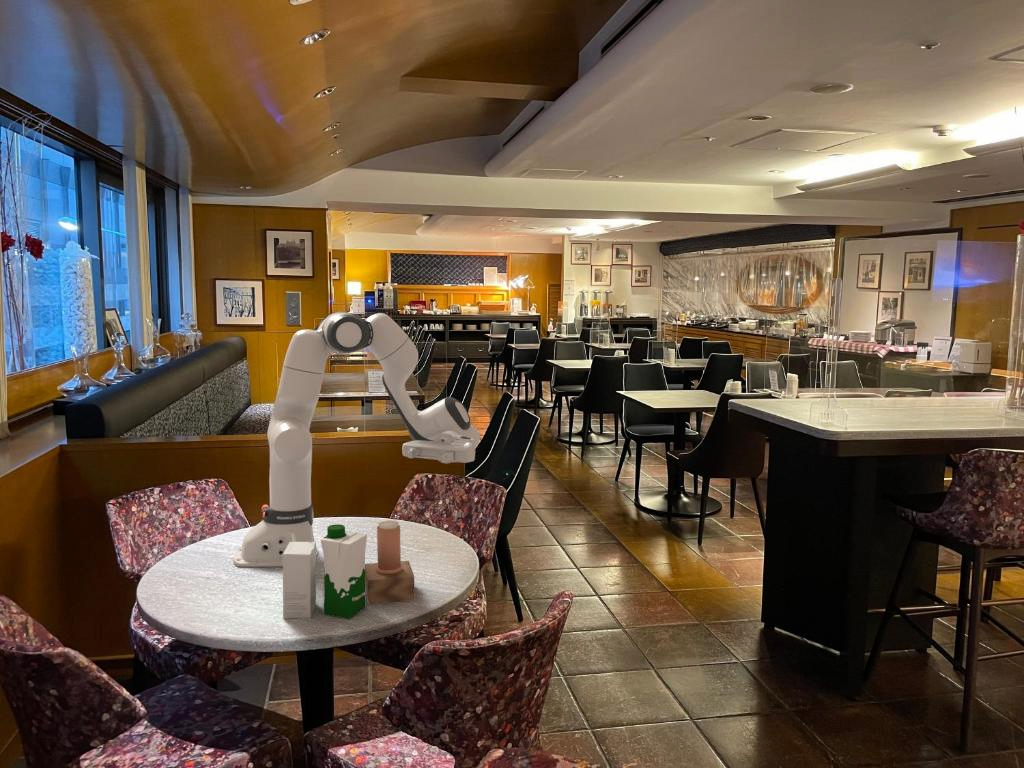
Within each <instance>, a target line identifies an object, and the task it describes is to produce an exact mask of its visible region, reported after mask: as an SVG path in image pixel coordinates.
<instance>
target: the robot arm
mask: <svg viewBox="0 0 1024 768" xmlns="http://www.w3.org/2000/svg"><path fill="white" fill-rule="evenodd" d="M362 349H367V350H368V351H369V352H370V353H371V354H372V355H373V356H374V357H375V359H376V360H377V362H378V363H379V364H380V365H381V366H380V367H381V368H382V372H383V374H382V377H381V380H382V385H383V386H384V389H385V391H386V393H387V395H388V396H389V398H390V400H391V402H392V404H393V405H394V407H395V408H396V411H397V412H398V414H399V416H400V418H401V419H402V421H403V422H404V425H405V428H406V430H407V432H408V435H409V436H410V438H411V439H412V440H410V441H407V442H405V443H404V442H403V444H402V447H401V450H402V456H403V457H406V458H408V459H414V458H417V459H424V460H425V459H428V460H434V461H435V460H437V461H438V462H441V463H442V464H451V463H465V464H467V463H471V462H474V461H475V460H476V458H475V457H476V448H477V447H478V445H479V444H480V439H481V438H480V437H481V436H480V432H479V430H478V428H476V426H475V425H472V423H471V417H470V414H469V412H468V410H467V408H466V406H465V405H464V404H463V402H461V401H460V400H458V399H456V398H454V397H451V396H446V397H445V398H443V399H441V400H439V401H437V402H436V403H434V404H433V405H431V406H429V407H427V408H425V409H423V410H418V409H417V407H416V406H415V403H414V402H413V400H412V398H411V397H410V395H409V393H408V392H407V390H406V382H407V381H408V379H410V376H411V375H412V373H413V372H414V371H415V369H416V368H417V365H418V361H419V352H418V351H419V350H418V349H417V347H416V346H415V344H414V342H413V341H412V340H411V338H410V337H409V336H408V334H407V333H406V332H405V331H404V330H403V328H402V327H400V325H399V324H398V323H397V322H396V321H395V320H393V319H392V318H391V317H390V316H389V315H388V314H386V313H383V312H377V313H374V314H372V315H370V316H368V317H367V318H366V319H364V318H362V317H359V316H356V315H354V314H352V313H350V312H346V311H334V312H331V313H329V314H328V315H326V316H324V318H323V319H322V320H321V321H320V322H319V324H317V326H315V328H314V329H301V330H297V331H296V332H294V334H293V335H292V337H291V339H290V342H289V345H288V348H287V350H286V353H285V356H284V357H285V358H284V360H283V365H282V370H281V376H280V380H279V383H278V388H277V393H276V396H275V401H274V404H273V408H272V412H271V415H270V419H269V424H268V428H267V432H266V433H267V440H268V445H269V446H268V447H269V477H268V478H269V480H268V481H269V484H268V485H269V505H268V504H263V505H262V506H261V513H262V514H261V515H262V520H261V521H260V522H259V523H257V524H256V525H255V526H254V527H252V528H251V529H250V530H248V531H247V532H246V533H245V536H244V537H243V539H242V543H241V547H240V548H239V549H236V550H235V552H234V554H233V559H232V561H233V564H234V565H235V566H237V567H248V568H249V567H250V568H251V567H252V568H253V567H283V553H284V551H285V549H286V548H287V546H288V544H289V542H316V540H315V536H314V531H313V530H314V528H313V525H314V507H313V504H312V487H311V486H312V485H311V484H312V483H311V482H312V480H311V479H312V477H311V476H312V464H313V463H312V462H313V436H312V434H311V431H310V428H311V423H312V420H313V417H314V414H315V411H316V408H317V404H318V402H319V399H320V394H321V388H322V385H323V380H324V375H325V369H326V364H327V361H328V358H329V357H330V356H331V354H332V353H334V352H337V353H341V354H352V353H356V352H359V351H361V350H362ZM318 553H319V550H318V547H316V556H317V555H318Z"/></svg>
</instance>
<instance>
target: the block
mask: <svg viewBox="0 0 1024 768" xmlns="http://www.w3.org/2000/svg"><path fill="white" fill-rule="evenodd" d="M377 564H378V562H373V563H370V562H369V563H365V588H366V589H365V595H366V599H367V604H368V605H376V604H377V603H379V604H389V603H388V602H390V603H400V602H410V601H415V574H414V572H413V569H412V566H411V563H410V561H409V560H401V564H402V565H403V570H402V571H401V572H400V573H398V574H393V575H382V574H378V573H377V572H376V565H377Z"/></svg>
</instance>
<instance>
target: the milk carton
mask: <svg viewBox="0 0 1024 768" xmlns="http://www.w3.org/2000/svg"><path fill="white" fill-rule="evenodd" d="M326 530H327V531H326V532H327V533H326V535H325V536H324V537H322V538H321V539H320V544H321V545H320V546H321V548H322V553H323V576H324V577H323V578H324V579H323V583H324V584H323V586H324V587H323V590H324V592H323V593H324V595H323V596H324V597H323V615H327V616H331V617H335V618H341V619H348V620H350V619H352V618H353V617H354V616H356V615H357V614H359V613H360V612H361V611H363V610H364V609H365V608H367V603H366V602H367V601H366V599H367V597H366V589H365V564H366V550H367V549H366V547H367V537H368V534H367V533H366V534H365V533H361V532H358V531H348V530H346V526H345V525H344V524H337V523H336V524H331V525H328V526H327V529H326Z"/></svg>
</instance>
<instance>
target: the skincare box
mask: <svg viewBox="0 0 1024 768" xmlns="http://www.w3.org/2000/svg"><path fill="white" fill-rule="evenodd" d="M316 548H317V542H316V541H315V542H289V544H288V546H287V548H286V549H285V551H284V553H283V566H282V618H283V619H285V620H286V619H289V620H290V619H311V617H312V616H313V612H314V610H315V607H316V605H317V555H316Z"/></svg>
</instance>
